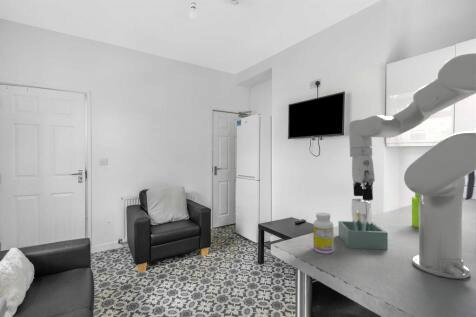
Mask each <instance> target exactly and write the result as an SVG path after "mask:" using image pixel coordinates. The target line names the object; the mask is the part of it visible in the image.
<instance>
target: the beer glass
mask: <svg viewBox="0 0 476 317" xmlns="http://www.w3.org/2000/svg"><path fill="white" fill-rule="evenodd" d="M350 207H351V208H350V210H351V211H350V212H351V218H352V221H353V225H354V231H369V230H370V224H371V222H372V216H373V208H372V207H373V206H372V200H363V198H353V199H351V206H350Z"/></svg>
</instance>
